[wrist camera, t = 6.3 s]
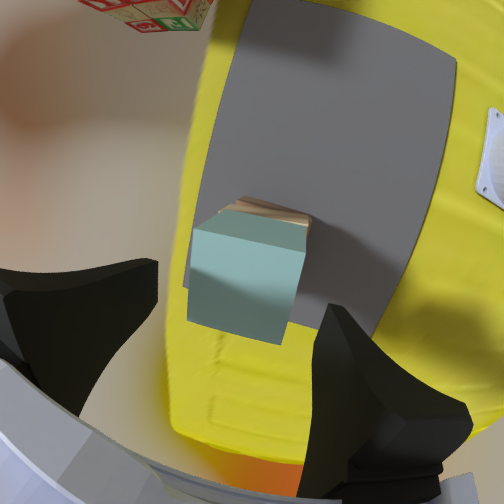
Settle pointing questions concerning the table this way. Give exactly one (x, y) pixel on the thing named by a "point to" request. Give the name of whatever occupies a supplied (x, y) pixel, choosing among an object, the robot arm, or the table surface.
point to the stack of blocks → (155, 13)
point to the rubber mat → (332, 145)
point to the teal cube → (245, 274)
